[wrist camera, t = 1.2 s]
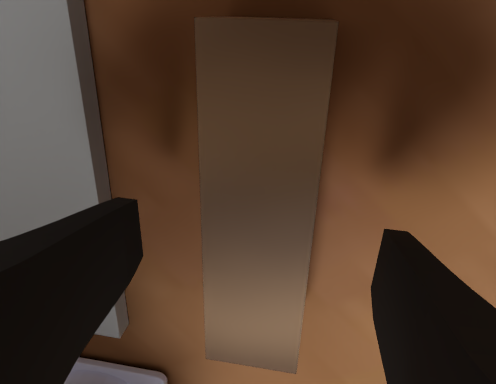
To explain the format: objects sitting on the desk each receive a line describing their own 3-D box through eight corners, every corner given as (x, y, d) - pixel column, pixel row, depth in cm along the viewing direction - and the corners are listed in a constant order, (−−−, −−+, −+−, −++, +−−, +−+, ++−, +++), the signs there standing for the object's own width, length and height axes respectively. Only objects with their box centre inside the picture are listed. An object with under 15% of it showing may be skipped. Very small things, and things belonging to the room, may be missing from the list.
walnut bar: (301, 300, 18) (296, 373, 14) (228, 290, 18) (206, 358, 14) (333, 19, 12) (338, 22, 9) (229, 16, 13) (194, 17, 9)
